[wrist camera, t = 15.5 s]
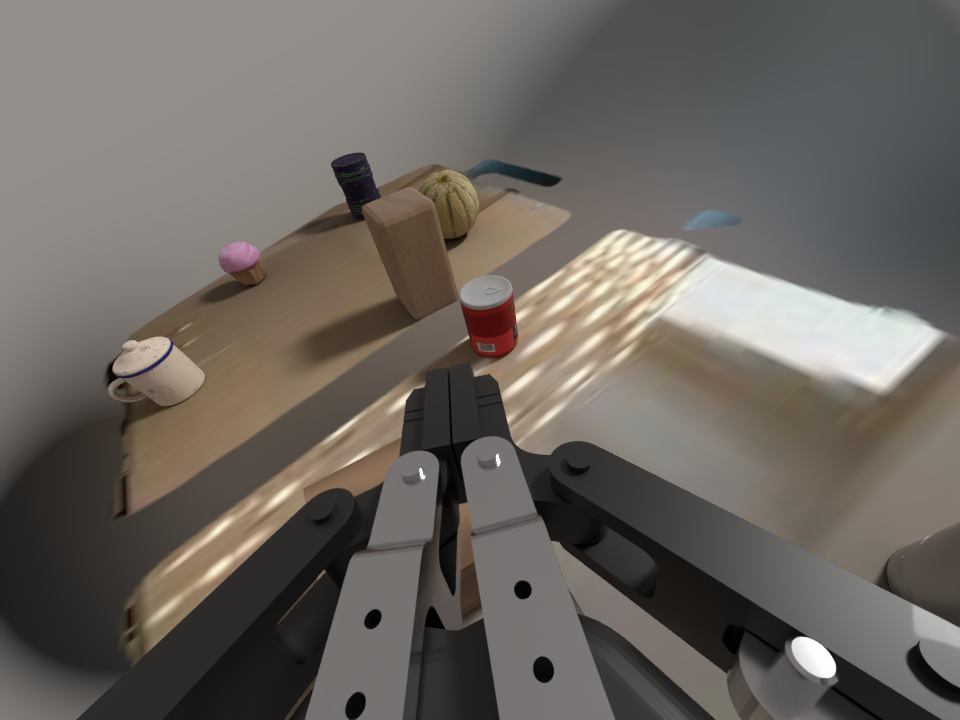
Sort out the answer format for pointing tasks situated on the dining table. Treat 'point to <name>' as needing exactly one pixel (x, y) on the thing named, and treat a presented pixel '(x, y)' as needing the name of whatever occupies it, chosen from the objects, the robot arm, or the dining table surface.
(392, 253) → the block
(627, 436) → the dining table surface
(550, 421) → the dining table surface
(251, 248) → the cupcake
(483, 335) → the canned food
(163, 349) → the teacup with lid
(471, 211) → the cantaloupe
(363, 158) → the navy striped cylinder
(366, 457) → the walnut block
